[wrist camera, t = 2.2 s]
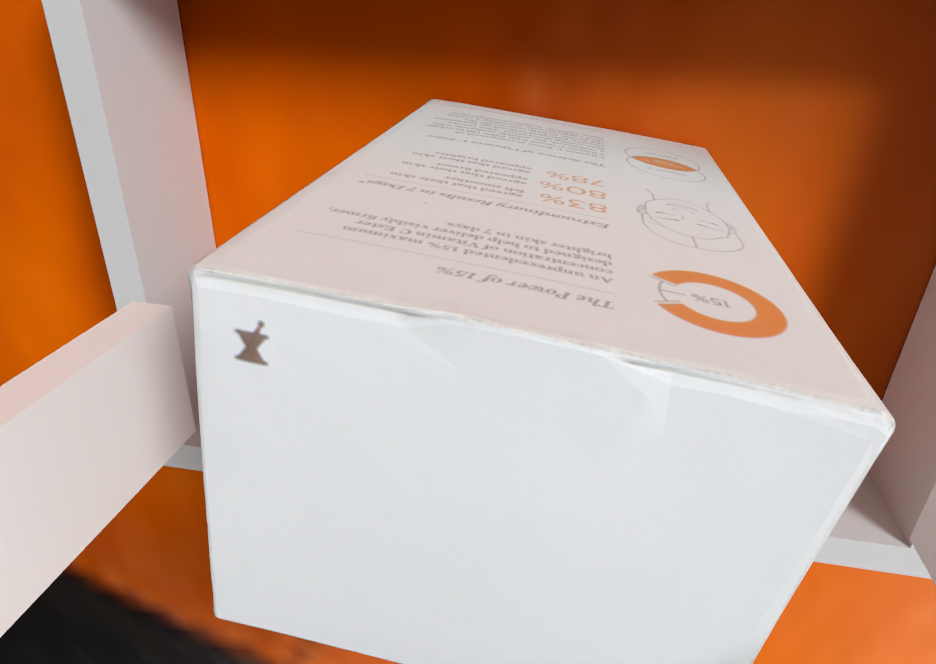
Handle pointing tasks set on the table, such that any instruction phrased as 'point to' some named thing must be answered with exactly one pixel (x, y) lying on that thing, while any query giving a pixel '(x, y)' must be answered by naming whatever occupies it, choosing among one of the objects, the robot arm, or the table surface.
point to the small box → (519, 403)
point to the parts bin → (191, 238)
